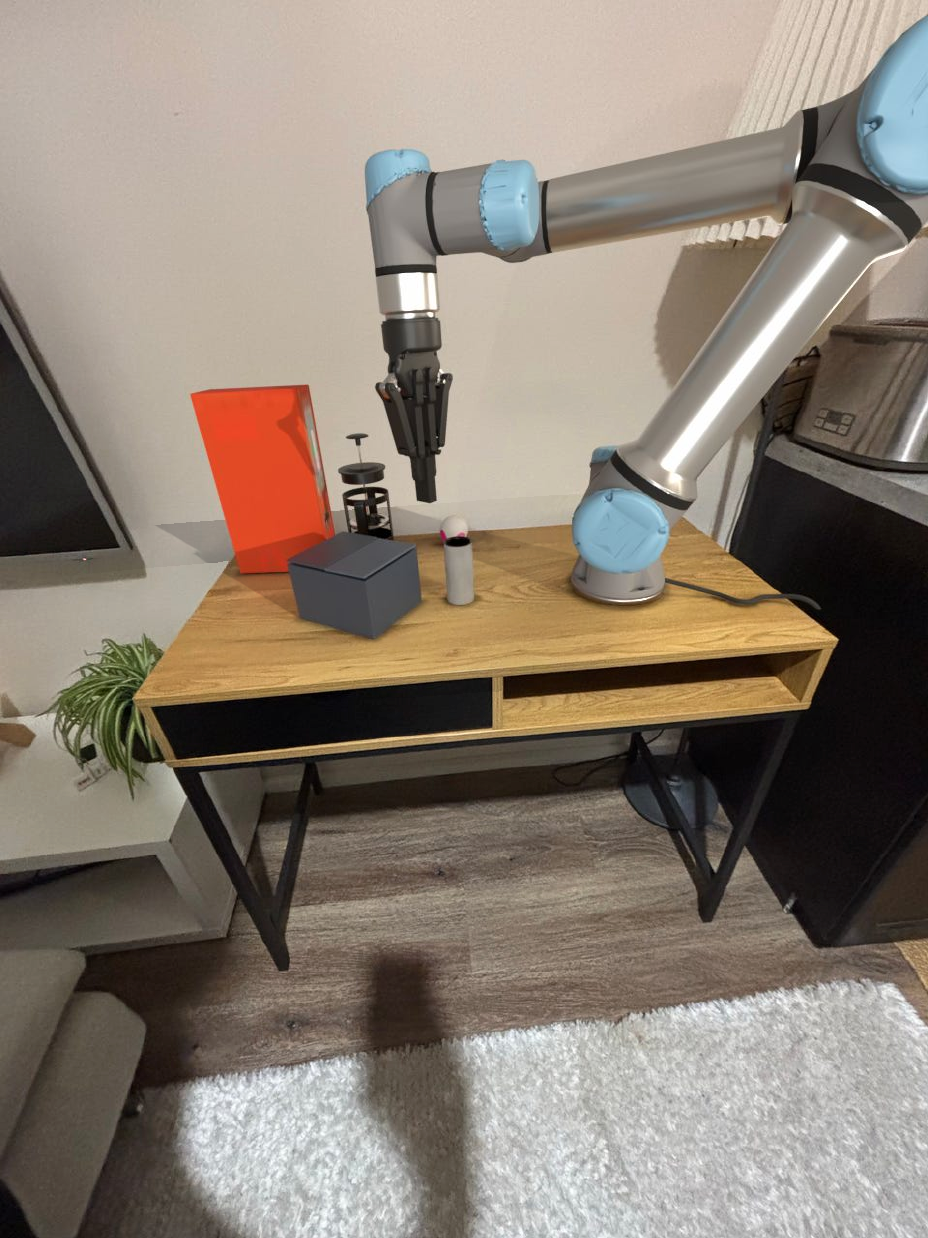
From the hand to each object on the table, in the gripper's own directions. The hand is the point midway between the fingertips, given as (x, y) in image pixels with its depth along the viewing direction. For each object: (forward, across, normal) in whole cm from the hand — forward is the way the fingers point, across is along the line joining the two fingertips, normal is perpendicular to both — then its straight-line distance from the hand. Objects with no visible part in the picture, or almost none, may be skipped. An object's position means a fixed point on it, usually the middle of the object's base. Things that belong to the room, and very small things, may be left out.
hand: (426, 500), depth 76 cm
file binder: (+17, +4, -35) cm, 39 cm away
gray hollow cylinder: (+18, -4, +2) cm, 18 cm away
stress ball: (+18, -22, -15) cm, 32 cm away
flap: (+7, +8, -5) cm, 12 cm away
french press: (+17, -10, -26) cm, 33 cm away
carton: (+17, +8, -9) cm, 21 cm away
